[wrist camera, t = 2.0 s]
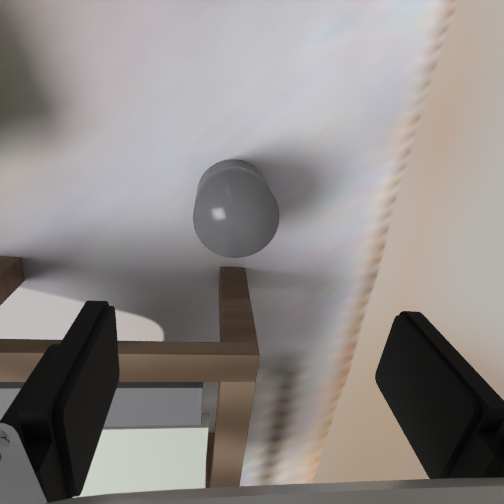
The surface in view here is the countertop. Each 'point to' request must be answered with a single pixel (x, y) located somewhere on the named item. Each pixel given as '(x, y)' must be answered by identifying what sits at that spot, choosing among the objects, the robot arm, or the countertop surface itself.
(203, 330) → the countertop surface
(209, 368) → the trapdoor frame
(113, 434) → the trapdoor
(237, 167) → the metal canister
